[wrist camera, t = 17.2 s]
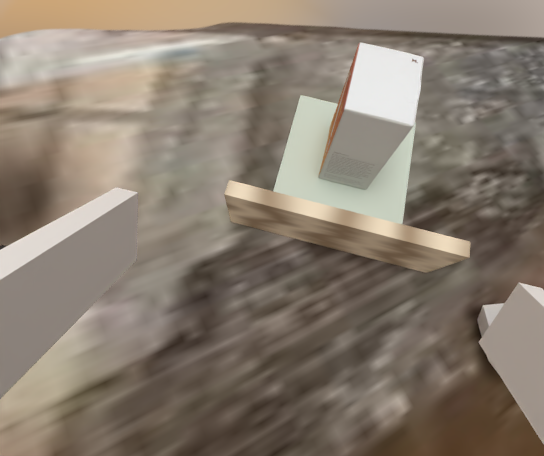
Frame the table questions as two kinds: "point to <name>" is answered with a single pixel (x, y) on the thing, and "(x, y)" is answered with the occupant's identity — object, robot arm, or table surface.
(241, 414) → the table surface
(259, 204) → the wooden screen
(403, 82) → the small box
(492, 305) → the figurine
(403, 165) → the display plate
